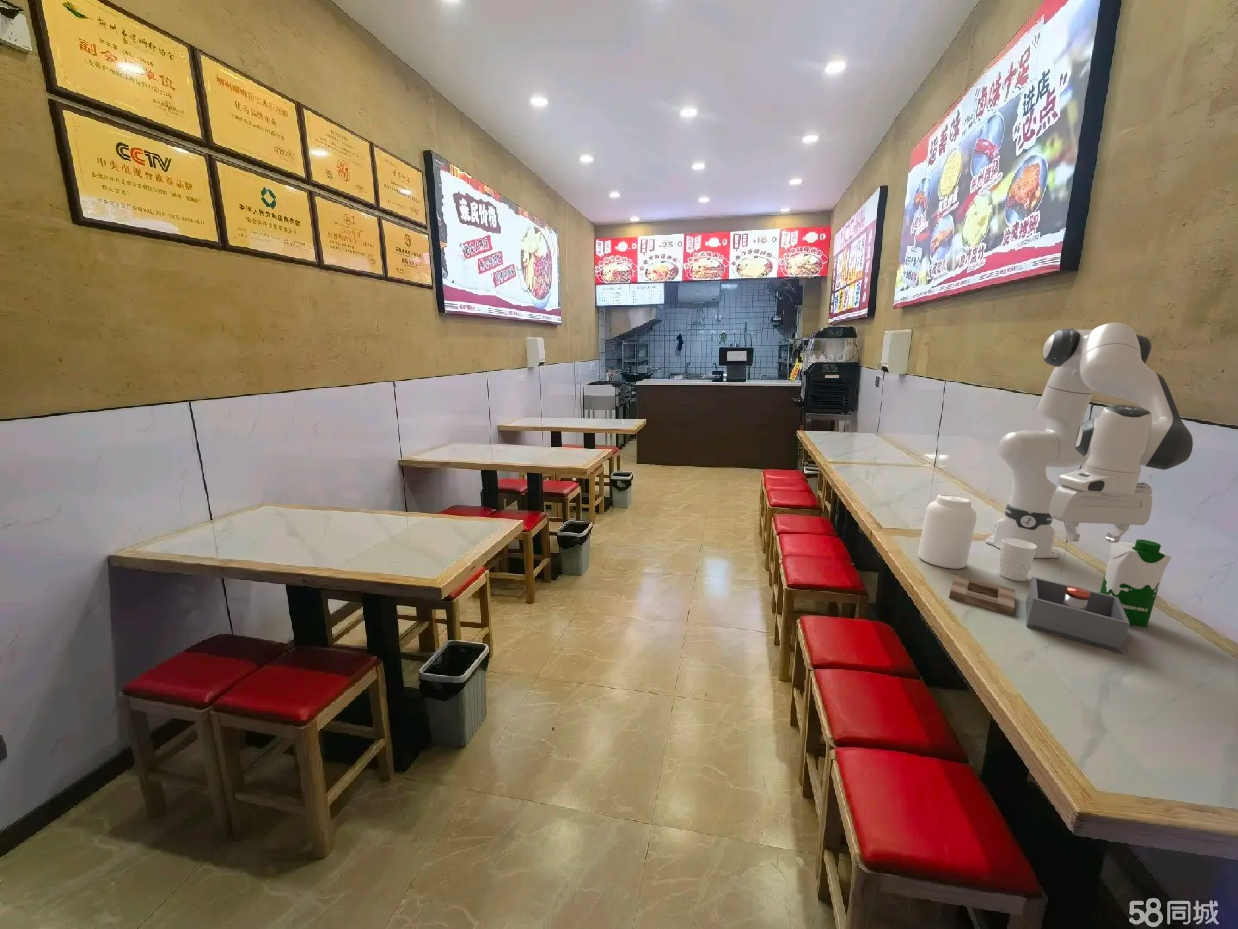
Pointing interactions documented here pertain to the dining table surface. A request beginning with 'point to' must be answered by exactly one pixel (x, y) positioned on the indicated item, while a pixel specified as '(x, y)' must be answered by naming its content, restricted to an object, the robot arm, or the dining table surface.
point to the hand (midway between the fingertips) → (1091, 541)
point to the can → (947, 532)
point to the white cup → (1015, 558)
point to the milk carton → (1135, 577)
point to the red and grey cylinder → (1076, 598)
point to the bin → (1077, 616)
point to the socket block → (1000, 604)
